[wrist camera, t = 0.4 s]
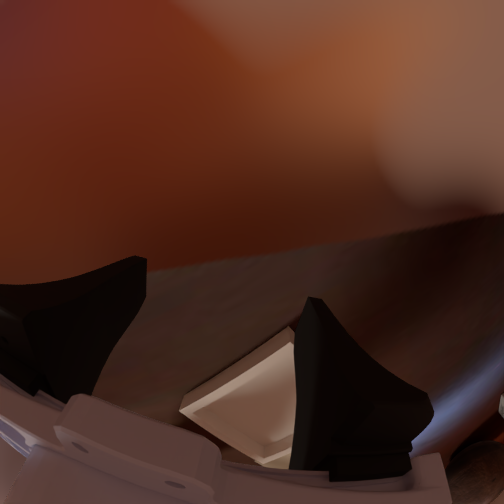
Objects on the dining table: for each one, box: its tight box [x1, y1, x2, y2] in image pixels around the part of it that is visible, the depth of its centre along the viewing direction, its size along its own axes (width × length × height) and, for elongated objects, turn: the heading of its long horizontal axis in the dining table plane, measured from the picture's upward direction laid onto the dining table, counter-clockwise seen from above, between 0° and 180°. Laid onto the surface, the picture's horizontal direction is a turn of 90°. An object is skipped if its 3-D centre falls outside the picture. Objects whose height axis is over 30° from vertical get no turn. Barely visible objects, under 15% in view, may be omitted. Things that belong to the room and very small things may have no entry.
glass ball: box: [445, 440, 504, 504], centre depth 24 cm, size 15×15×15 cm
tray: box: [179, 326, 296, 464], centre depth 26 cm, size 14×13×2 cm
